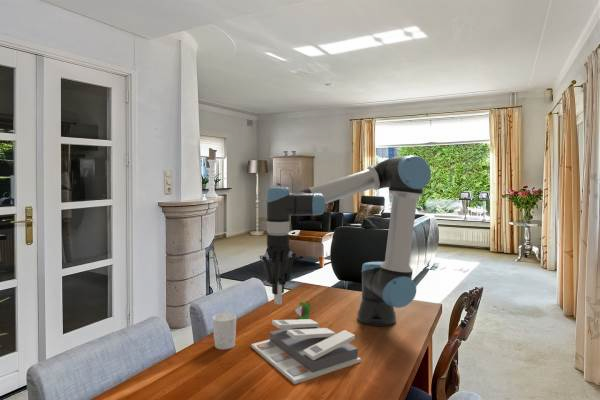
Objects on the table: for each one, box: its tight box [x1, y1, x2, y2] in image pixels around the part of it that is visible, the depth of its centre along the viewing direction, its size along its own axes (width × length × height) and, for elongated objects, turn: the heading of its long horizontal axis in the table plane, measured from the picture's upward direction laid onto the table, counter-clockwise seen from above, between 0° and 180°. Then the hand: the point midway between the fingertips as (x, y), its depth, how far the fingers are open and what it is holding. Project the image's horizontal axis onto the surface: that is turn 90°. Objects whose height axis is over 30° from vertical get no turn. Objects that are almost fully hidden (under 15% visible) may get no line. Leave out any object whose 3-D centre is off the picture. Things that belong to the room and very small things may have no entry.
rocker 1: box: [271, 318, 319, 330], centre depth 136 cm, size 16×5×1 cm, turn 123°
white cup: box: [212, 312, 237, 351], centre depth 133 cm, size 8×8×10 cm
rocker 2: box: [286, 327, 337, 339], centre depth 127 cm, size 16×5×1 cm, turn 123°
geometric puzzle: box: [294, 301, 315, 320], centre depth 157 cm, size 7×7×8 cm
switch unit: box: [250, 325, 362, 385], centre depth 126 cm, size 24×28×4 cm
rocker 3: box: [303, 329, 356, 360], centre depth 119 cm, size 16×5×1 cm, turn 122°
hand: (278, 303), depth 132 cm, fingers closed
